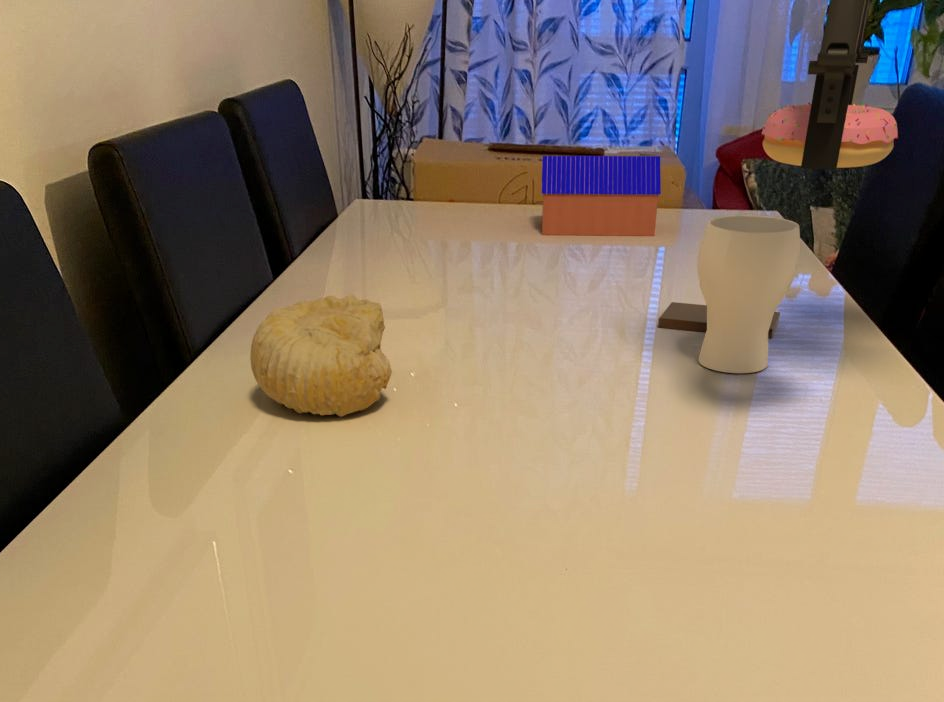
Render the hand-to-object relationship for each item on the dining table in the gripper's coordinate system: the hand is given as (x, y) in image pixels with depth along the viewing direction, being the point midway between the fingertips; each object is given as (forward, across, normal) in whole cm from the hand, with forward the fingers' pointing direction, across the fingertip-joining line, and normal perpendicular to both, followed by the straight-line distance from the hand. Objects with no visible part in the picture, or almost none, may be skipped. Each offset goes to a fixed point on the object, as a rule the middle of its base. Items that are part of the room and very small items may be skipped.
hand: (823, 158), depth 84 cm
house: (+24, -86, -39) cm, 97 cm away
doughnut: (0, 0, 0) cm, 0 cm away
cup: (+24, -18, -7) cm, 31 cm away
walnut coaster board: (+24, -33, -10) cm, 42 cm away
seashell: (+24, +7, -45) cm, 52 cm away
